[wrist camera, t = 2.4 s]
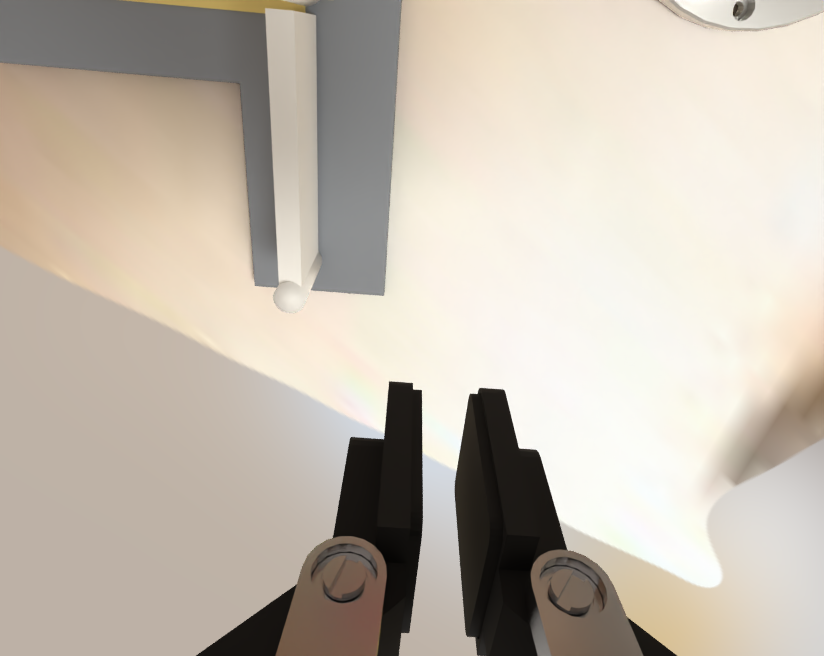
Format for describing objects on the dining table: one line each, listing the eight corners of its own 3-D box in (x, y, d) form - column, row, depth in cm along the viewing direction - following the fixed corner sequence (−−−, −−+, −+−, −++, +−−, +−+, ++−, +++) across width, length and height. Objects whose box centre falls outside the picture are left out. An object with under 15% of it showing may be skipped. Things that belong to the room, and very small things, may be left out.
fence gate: (287, 12, 22) (256, 7, 18) (320, 15, 22) (298, 10, 18) (295, 270, 28) (274, 312, 23) (322, 272, 28) (305, 314, 23)
